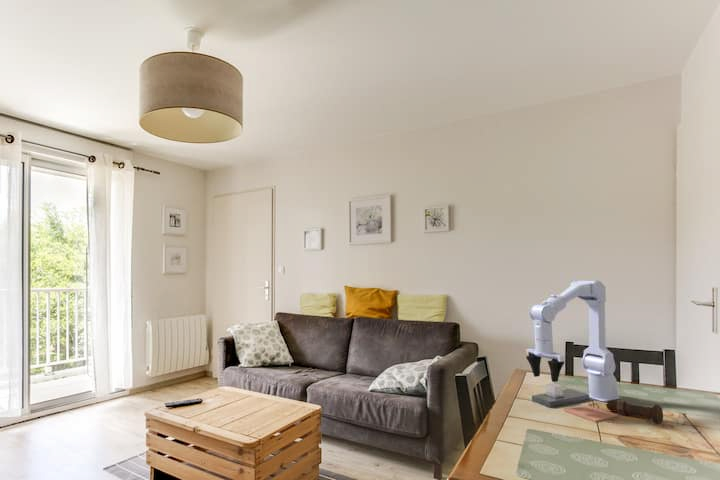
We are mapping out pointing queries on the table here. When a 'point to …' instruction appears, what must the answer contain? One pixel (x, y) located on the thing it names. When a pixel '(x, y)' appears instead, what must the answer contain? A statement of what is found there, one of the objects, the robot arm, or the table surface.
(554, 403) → the block
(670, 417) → the table surface
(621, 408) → the bolt
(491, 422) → the table surface
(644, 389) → the table surface
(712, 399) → the table surface
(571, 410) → the mat
